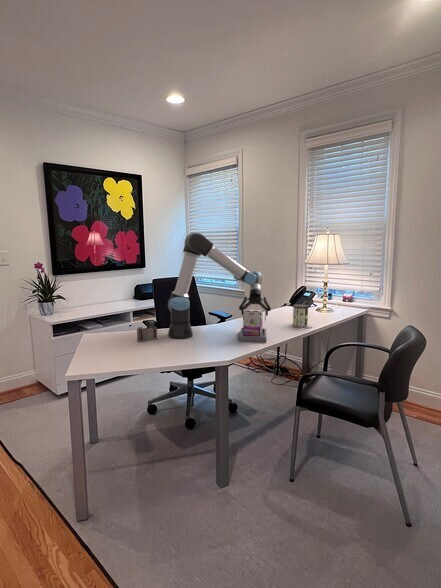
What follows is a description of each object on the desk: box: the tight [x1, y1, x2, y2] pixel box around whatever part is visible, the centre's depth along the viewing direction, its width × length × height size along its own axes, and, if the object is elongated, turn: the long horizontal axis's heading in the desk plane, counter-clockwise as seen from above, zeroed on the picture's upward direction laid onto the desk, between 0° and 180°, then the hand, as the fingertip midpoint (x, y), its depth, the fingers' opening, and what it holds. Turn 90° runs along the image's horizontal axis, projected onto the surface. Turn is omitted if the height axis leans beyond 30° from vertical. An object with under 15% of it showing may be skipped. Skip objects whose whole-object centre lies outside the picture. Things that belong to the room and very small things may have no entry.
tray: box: [238, 327, 267, 343], centre depth 217 cm, size 16×20×3 cm
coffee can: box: [292, 303, 309, 328], centre depth 246 cm, size 10×10×14 cm
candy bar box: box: [242, 308, 264, 337], centre depth 215 cm, size 11×5×16 cm, turn 67°
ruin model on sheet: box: [136, 326, 158, 343], centre depth 208 cm, size 11×3×10 cm, turn 120°
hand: (254, 319), depth 221 cm, fingers open, 13 cm apart
